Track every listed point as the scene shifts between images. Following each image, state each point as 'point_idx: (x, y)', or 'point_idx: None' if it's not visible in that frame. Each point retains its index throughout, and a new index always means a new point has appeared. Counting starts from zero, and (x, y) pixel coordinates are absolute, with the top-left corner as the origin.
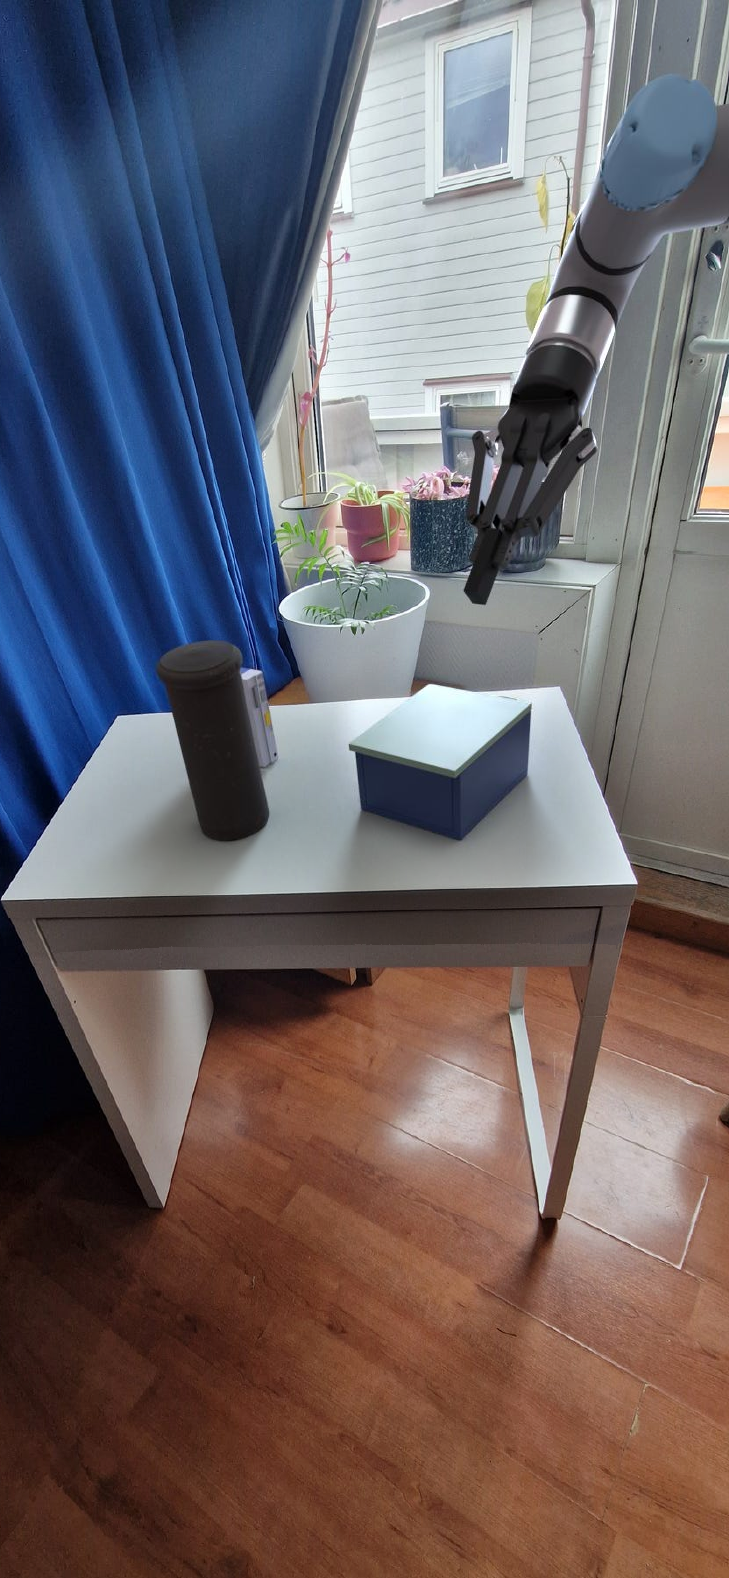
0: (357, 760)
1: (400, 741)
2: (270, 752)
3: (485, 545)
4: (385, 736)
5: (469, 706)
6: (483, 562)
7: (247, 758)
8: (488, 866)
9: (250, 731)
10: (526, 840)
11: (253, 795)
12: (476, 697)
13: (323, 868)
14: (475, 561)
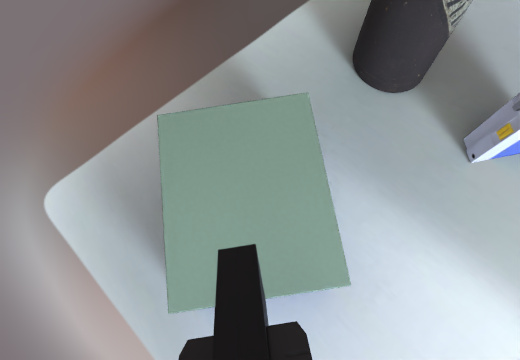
0: None
1: (256, 129)
2: (473, 146)
3: (245, 354)
4: (282, 128)
5: None
6: (229, 308)
7: (376, 9)
8: (141, 149)
9: (395, 2)
10: (132, 200)
11: (363, 39)
12: None
13: (259, 66)
14: (258, 304)
